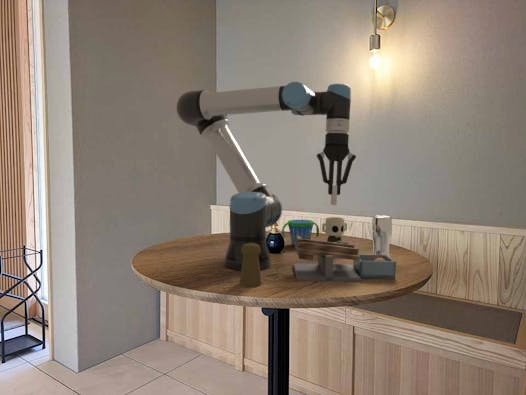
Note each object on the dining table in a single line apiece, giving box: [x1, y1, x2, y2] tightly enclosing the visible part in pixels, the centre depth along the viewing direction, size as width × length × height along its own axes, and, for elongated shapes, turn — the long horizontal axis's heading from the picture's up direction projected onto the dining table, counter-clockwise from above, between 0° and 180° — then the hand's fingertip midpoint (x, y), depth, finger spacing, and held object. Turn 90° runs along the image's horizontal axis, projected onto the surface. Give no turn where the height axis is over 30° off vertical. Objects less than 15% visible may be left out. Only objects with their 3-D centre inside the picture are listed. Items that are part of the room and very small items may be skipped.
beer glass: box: [371, 215, 393, 258], centre depth 141 cm, size 7×7×15 cm
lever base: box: [293, 255, 362, 282], centre depth 119 cm, size 18×16×7 cm
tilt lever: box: [294, 236, 360, 261], centre depth 123 cm, size 18×20×6 cm
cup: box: [352, 253, 397, 280], centre depth 119 cm, size 10×9×5 cm
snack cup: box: [281, 219, 320, 247], centre depth 163 cm, size 16×10×10 cm
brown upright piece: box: [239, 243, 262, 287], centre depth 108 cm, size 6×6×11 cm
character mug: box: [321, 216, 348, 242], centre depth 151 cm, size 11×7×13 cm, turn 111°
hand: (333, 204), depth 131 cm, fingers closed
